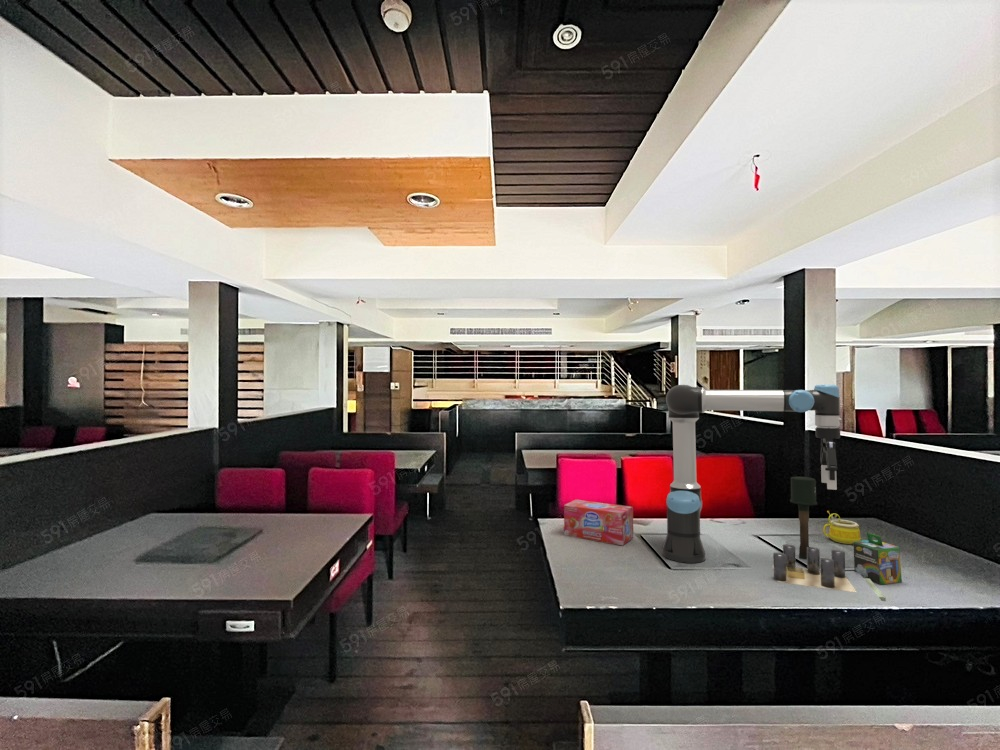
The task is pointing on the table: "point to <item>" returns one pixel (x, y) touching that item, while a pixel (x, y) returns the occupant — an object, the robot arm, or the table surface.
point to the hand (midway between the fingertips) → (828, 486)
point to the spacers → (811, 564)
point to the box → (598, 521)
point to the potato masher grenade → (803, 507)
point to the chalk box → (877, 560)
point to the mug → (842, 530)
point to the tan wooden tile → (795, 572)
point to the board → (840, 583)
